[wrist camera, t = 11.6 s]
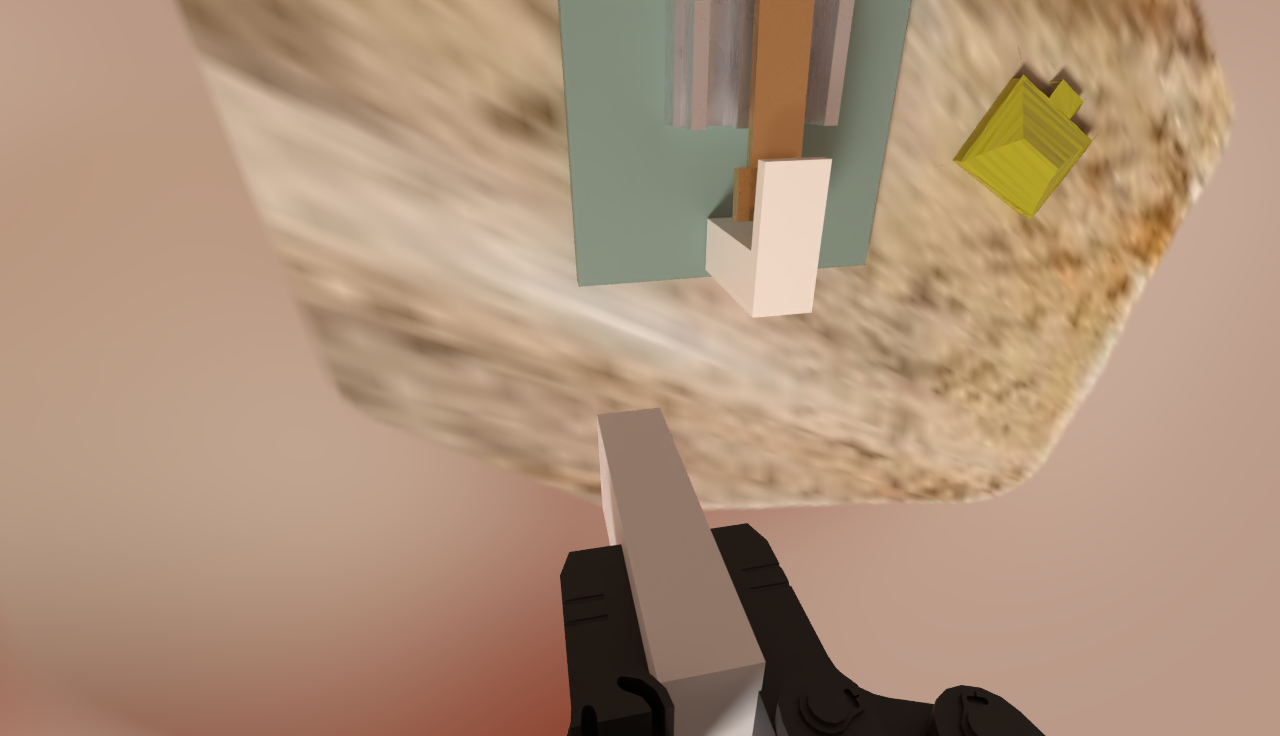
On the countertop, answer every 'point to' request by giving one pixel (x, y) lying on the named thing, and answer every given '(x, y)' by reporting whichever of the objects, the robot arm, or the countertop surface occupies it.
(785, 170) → the cream l-shaped bracket
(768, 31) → the strap
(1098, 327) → the countertop surface
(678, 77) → the heatsink
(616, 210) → the board
